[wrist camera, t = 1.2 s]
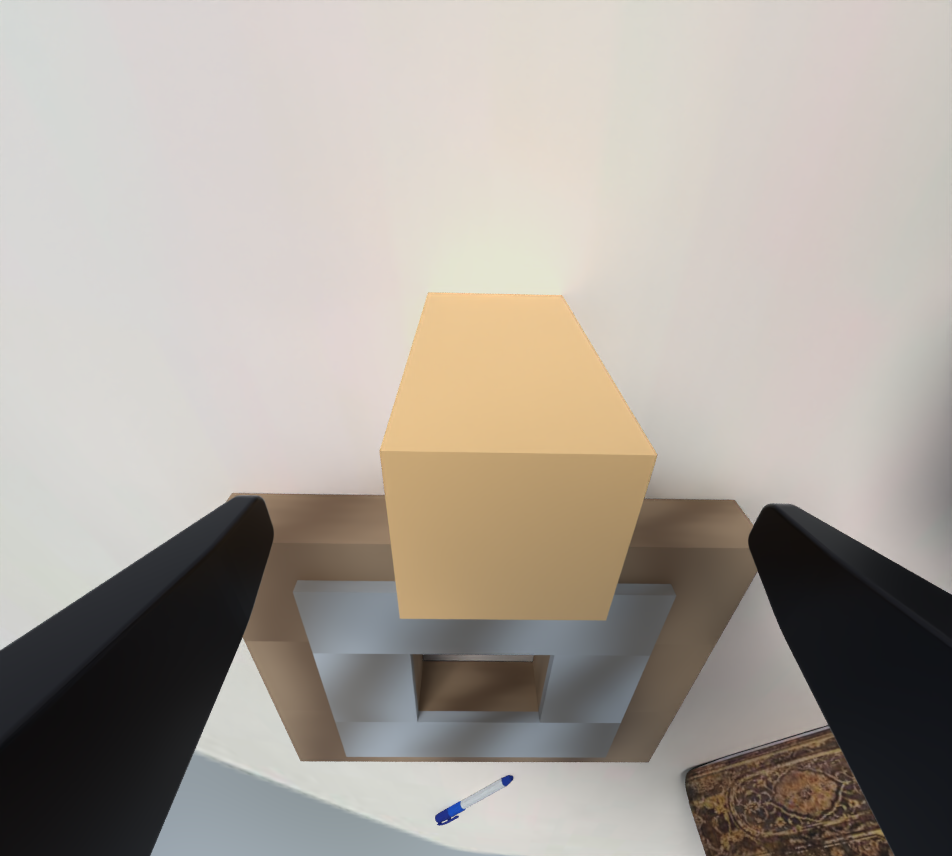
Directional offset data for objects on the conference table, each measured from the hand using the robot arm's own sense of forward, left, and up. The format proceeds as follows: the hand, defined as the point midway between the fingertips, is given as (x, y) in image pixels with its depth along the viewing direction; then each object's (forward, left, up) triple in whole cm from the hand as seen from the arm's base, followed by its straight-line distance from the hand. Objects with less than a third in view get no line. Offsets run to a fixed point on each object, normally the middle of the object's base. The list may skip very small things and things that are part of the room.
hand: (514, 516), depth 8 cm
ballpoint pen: (0, +38, -8) cm, 39 cm away
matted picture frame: (0, +15, -7) cm, 17 cm away
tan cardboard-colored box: (0, 0, -7) cm, 7 cm away
